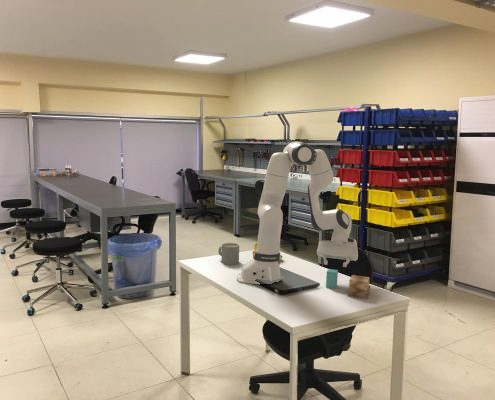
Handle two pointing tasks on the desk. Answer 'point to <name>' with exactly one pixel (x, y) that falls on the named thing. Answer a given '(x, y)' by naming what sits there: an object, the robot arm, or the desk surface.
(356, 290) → the walnut base block
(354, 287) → the oak top block
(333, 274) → the teal pillar
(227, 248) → the coffee mug
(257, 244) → the plastic component
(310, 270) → the desk surface
